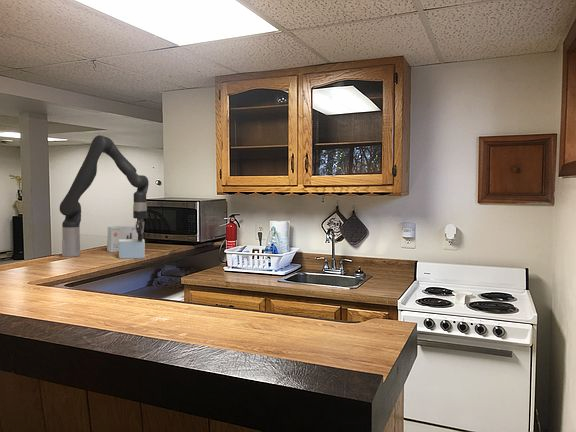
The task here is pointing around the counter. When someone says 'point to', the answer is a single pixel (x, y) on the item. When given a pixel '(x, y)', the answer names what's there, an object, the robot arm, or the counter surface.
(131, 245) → the front flap
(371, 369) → the counter surface
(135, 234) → the skincare box
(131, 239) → the carton
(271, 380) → the counter surface
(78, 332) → the counter surface
